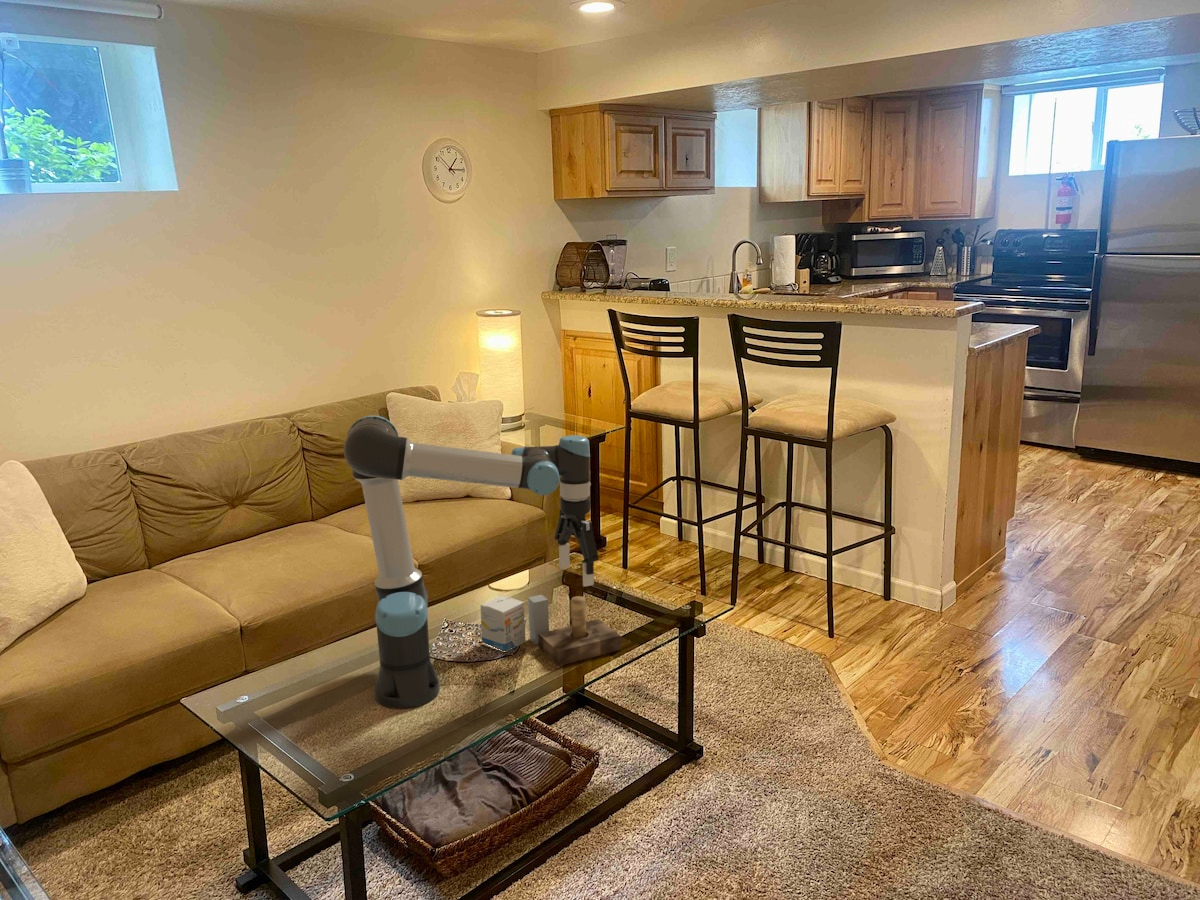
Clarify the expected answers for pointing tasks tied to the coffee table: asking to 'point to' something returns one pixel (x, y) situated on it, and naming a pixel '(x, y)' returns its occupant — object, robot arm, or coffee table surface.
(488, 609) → the ink box
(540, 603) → the square peg
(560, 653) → the socket block
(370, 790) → the coffee table surface
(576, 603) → the oak dowel
